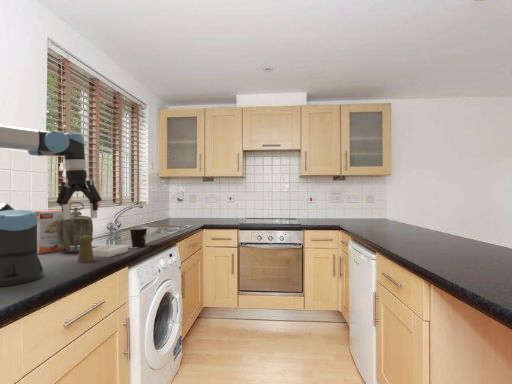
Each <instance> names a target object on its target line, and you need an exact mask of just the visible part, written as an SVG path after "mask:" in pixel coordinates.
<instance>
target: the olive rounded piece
mask: <svg viewBox="0 0 512 384" xmlns="http://www.w3.org/2000/svg"><path fill="white" fill-rule="evenodd" d="M93 240H94V239H93V235H92V236H90V235H84V236H81V237H80V238H79V243H80V246H79V251H78V257H77V258H78V259H77V263H80V264H83V263H89V262H90V263H91V262H93V261H95V257H93V251H92V248H93V246H92V243H93Z"/></svg>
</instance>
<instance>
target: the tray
mask: <svg viewBox="0 0 512 384" xmlns="http://www.w3.org/2000/svg"><path fill="white" fill-rule="evenodd" d="M92 251H93V257H94V258H95V257H97V258H111V257H114V256H118V255H121V254H125V253H128V252H129V245H128V244H127V245H123V244H104V245H100V246H98V247H96V246H95V247H92Z"/></svg>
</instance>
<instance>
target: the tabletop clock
mask: <svg viewBox="0 0 512 384" xmlns="http://www.w3.org/2000/svg"><path fill="white" fill-rule="evenodd" d="M68 204H69V206H70V205H72V204H79V205H81V206H82V207H81V208H78V207H74V208H70V207H69V209H70V210H71V214H70V219H65V220H64V218H62V219H60V221H59V223H58V230H57V235H58V241H59V244H60V245H62V246H65V247H64V249H62V251H61V252H62V253H64V252H66V251H67V250H66V247H67V246H70V247H74V250H73V253H75V254H76V253H78V250H77V247H80V243H79V238H80V237H81V236H84V235H90V236H92V237H93V236H94V235H93V233H94V226H93V225H94V224H93V219H91V216H87V215H82V213H81V211H80V210H83V209H84V208H85V205H84V203H83V202H79V201H71V202H70V203H68Z"/></svg>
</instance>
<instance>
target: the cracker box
mask: <svg viewBox="0 0 512 384" xmlns="http://www.w3.org/2000/svg"><path fill="white" fill-rule="evenodd" d="M34 212H35V213H36V215H37V220H38V222H37V255H42V254H47V253H48V254H49V253H55V252H62V249H64V247H65V246H62V245H60V244H59V241H58V235H57V230H58V223H59V221H60V219H62V218H64V217H63V212H62V209H47V210H34ZM71 212H72V210H70V214H71ZM68 250H71V246H67V247H66V251H68Z"/></svg>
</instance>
